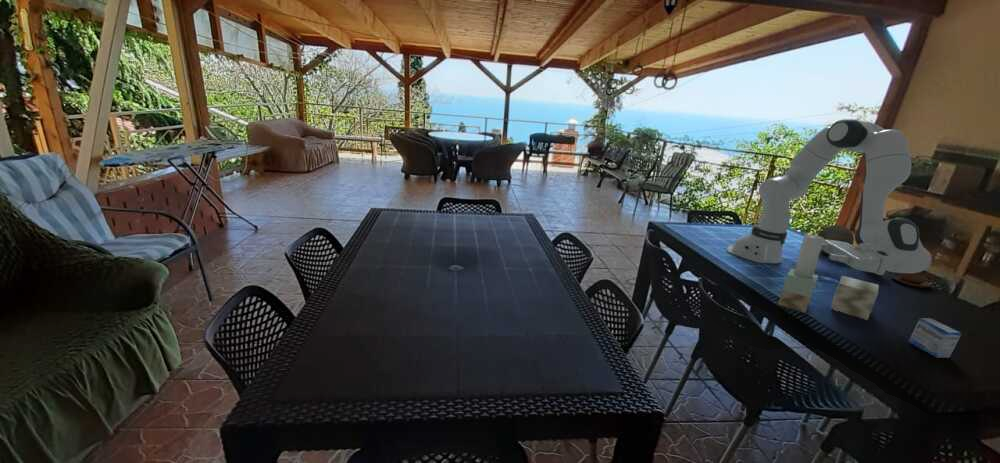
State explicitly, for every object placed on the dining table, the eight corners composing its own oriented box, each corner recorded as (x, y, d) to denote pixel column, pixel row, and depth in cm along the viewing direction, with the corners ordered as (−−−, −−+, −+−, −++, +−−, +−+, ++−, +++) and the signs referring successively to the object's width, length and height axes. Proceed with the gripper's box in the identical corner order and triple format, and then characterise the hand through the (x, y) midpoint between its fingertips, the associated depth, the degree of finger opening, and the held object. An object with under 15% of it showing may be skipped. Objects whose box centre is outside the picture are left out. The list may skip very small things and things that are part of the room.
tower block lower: (777, 304, 140) (782, 289, 138) (782, 297, 145) (786, 283, 144) (805, 313, 135) (810, 297, 133) (808, 305, 140) (813, 290, 138)
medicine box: (907, 342, 120) (918, 317, 118) (920, 341, 121) (931, 317, 118) (936, 358, 113) (949, 332, 110) (950, 358, 113) (962, 332, 110)
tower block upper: (782, 289, 138) (787, 274, 136) (786, 283, 144) (791, 268, 142) (810, 297, 133) (815, 282, 131) (813, 290, 138) (818, 275, 136)
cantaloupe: (805, 251, 195) (814, 223, 190) (822, 248, 200) (831, 220, 195) (837, 262, 183) (848, 232, 178) (854, 258, 188) (865, 229, 183)
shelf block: (830, 308, 139) (839, 283, 135) (832, 299, 145) (841, 275, 142) (867, 320, 132) (878, 293, 129) (868, 310, 139) (878, 284, 136)
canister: (792, 274, 136) (803, 236, 132) (794, 270, 140) (805, 233, 136) (811, 279, 133) (823, 240, 129) (813, 274, 137) (824, 237, 132)
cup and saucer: (918, 280, 167) (924, 267, 165) (937, 292, 156) (943, 278, 154) (883, 275, 171) (889, 262, 169) (900, 286, 160) (905, 273, 158)
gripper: (851, 237, 139) (808, 233, 141) (894, 258, 120) (843, 253, 122) (845, 253, 141) (803, 249, 143) (886, 277, 122) (837, 271, 124)
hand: (822, 251), depth 133 cm, fingers open, 8 cm apart
